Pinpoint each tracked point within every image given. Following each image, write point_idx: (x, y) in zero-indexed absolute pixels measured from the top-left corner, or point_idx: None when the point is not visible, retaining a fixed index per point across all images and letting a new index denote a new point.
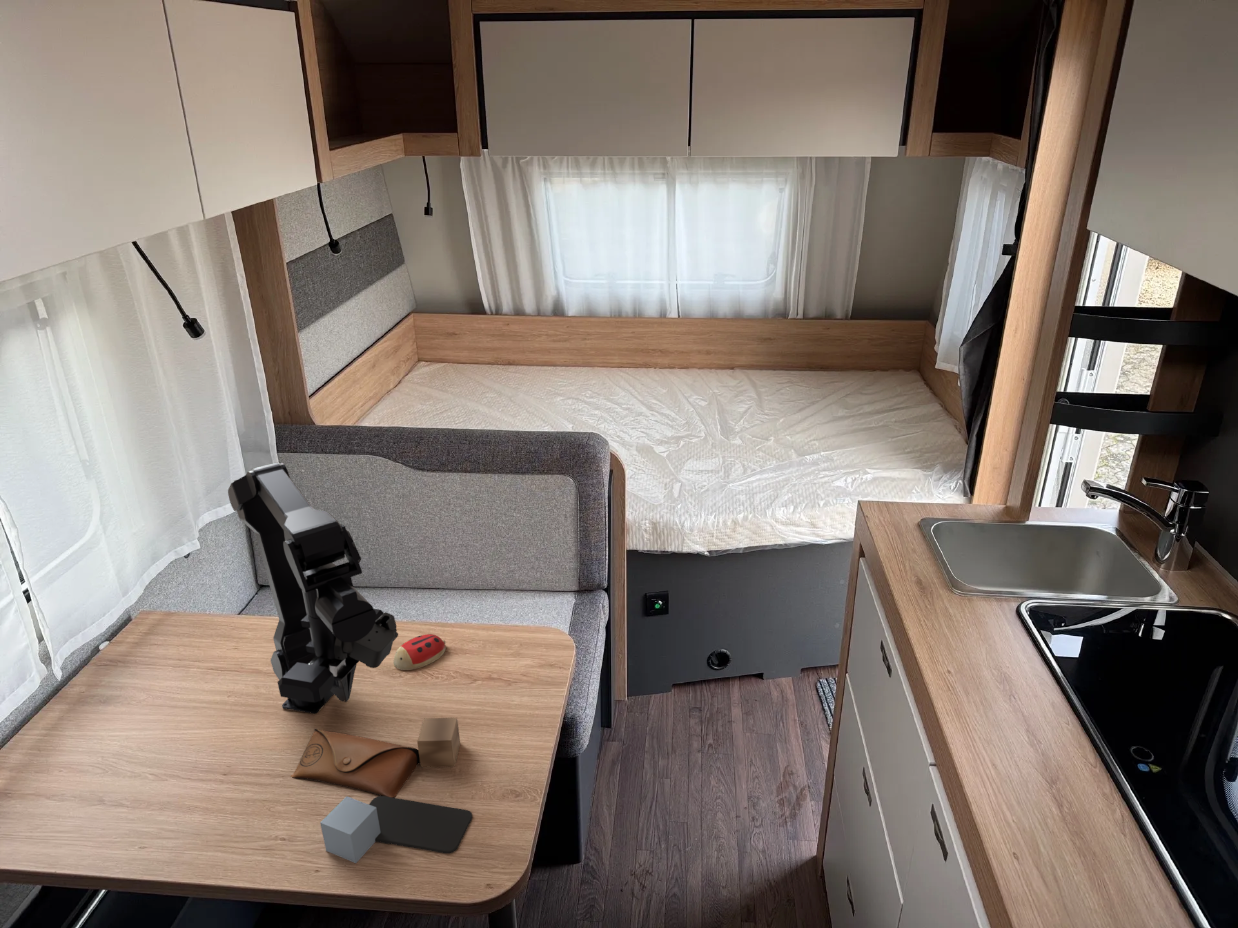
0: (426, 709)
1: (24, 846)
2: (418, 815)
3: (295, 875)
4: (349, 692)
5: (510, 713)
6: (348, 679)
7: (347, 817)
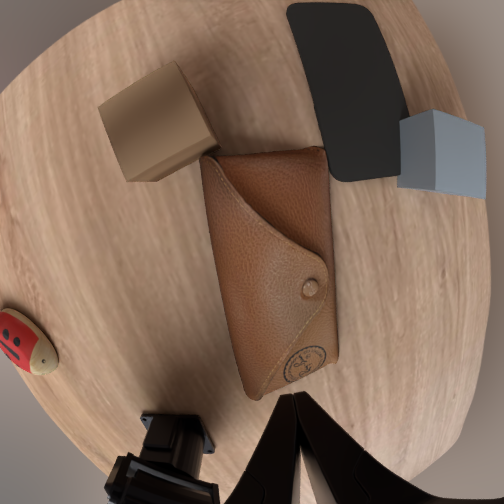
0: (86, 253)
1: (443, 450)
2: (340, 75)
3: (479, 208)
4: (287, 415)
5: (47, 104)
6: (293, 478)
7: (467, 153)
